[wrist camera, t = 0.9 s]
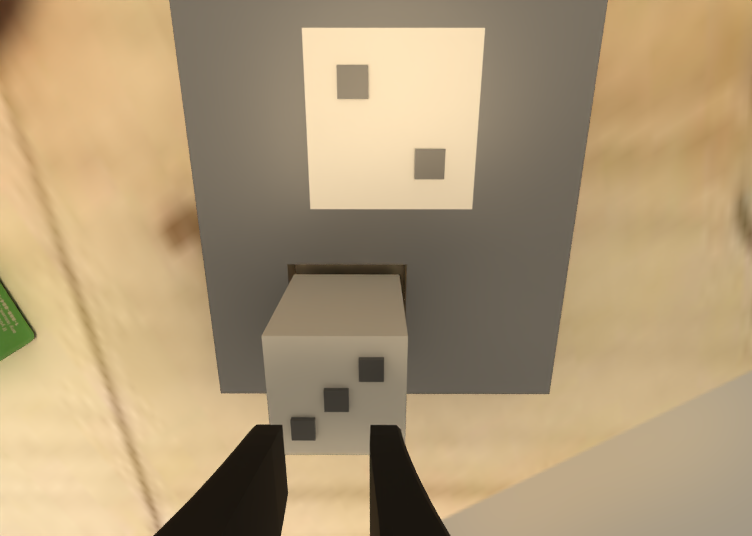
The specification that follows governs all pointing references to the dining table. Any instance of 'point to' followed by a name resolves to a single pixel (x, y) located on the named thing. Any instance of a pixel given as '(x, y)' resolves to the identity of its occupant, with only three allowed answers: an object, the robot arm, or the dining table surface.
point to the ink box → (12, 326)
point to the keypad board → (393, 226)
